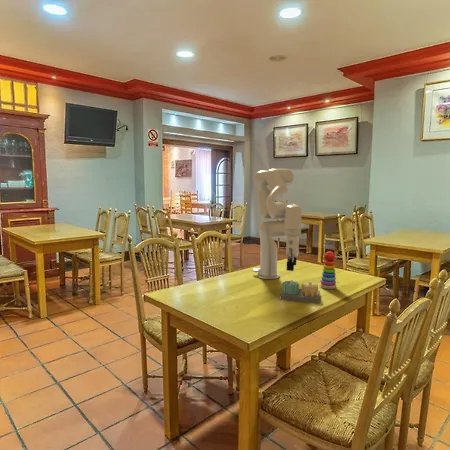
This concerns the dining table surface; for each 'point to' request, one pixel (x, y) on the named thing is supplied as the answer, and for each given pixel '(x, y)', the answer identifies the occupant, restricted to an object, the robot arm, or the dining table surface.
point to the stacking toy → (328, 272)
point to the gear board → (300, 297)
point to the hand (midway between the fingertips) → (291, 267)
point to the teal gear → (290, 287)
